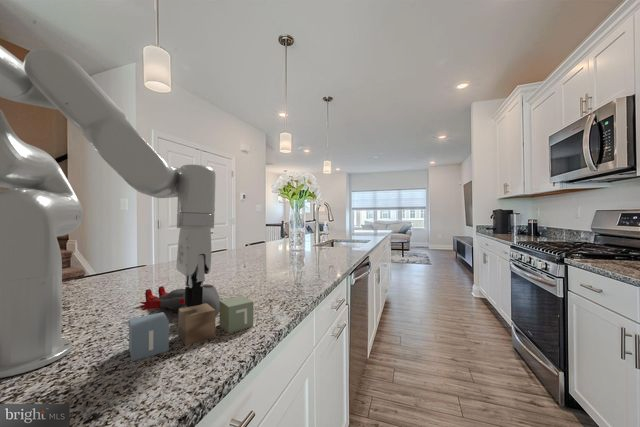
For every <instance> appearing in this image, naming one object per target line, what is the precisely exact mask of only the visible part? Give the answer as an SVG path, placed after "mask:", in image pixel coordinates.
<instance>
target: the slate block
mask: <svg viewBox="0 0 640 427" xmlns="http://www.w3.org/2000/svg"><path fill="white" fill-rule="evenodd" d="M169 346H170V320H169V318H168V317H167V316H166V313H165V312H157V313H152V314H148V315H141V316H137V317H133V318H129V319H128V351H129V354H130V355H129V356H130V360H131V361H137V360H140V359H144V358H147V357H151V356H154V355H157V354H162V353H165V352H168V351H170V347H169Z"/></svg>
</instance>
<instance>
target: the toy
mask: <svg viewBox="0 0 640 427" xmlns="http://www.w3.org/2000/svg"><path fill="white" fill-rule="evenodd" d="M157 292H158V296H156V295H153V292H152V290H151V289H150V288H149V289H145V293H144V294H145V298H144V299H145V301H140V302H139V303H140V304H141V305H140V306H139V307H140V308H142V309H141V311H146V310H157V309H162V308H165V307H166V308H167V309H169V310H171V311H172V310H179V309H181V308H186V307H187V306H186V305H185V288H178V289H177V288H176V289H174V290H171V291H169V292H166V290H165V287H164V286H159V287H158V289H157ZM220 300H221V298H220V295H219V292H218V291H217V289H216V286H214V285H212V284H208V283H206V284H204V283H203V296H202V304H205V303H207V304H208V305H210V306H211V307H212V308H213V309H215V318H216V317H217V316H218V315H219V301H220Z"/></svg>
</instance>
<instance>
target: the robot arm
mask: <svg viewBox="0 0 640 427" xmlns="http://www.w3.org/2000/svg"><path fill="white" fill-rule="evenodd" d="M0 98H3V99H5V100H8V101H13V102H16V103H19V104H20V103H21V104H26V105H31V106H37V107H41V108H42V107H43V108H48V109H52V110H56V111H57V110H58V111H59V112H60V113H61V114H62V115H63V116H64V117H65V118H66V119H67V120H68V121H69V122H70V123H71V124H72V125H73V126H74V127H75V128H76V130H78V131H79V132H80V133H81V134H82V136H84V138H85V139H86V141H87V142H88V144H90V145H91V146H92V147H93V149H94V150H95V151H96V152H97V154H98V155H99V156H100V157H101V158H102V159H103V160H104V161H105V162H106V163H107V165H109V166H110V167H111V168H112V169H113V171H114V172H116V173H117V175H119V176H120V177H121V178H122V179H123V180H124V181H125V182H126V183H127V184H128V185H129V186H130V187H131V188H132V189H133V190H135V191H137V192H138V193H141V194H143V195H146V196H150V197H153V198H157V199H170V198H177V209H176V210H177V211H176V212H177V214H176V229H179V235H178V240H177V242H178V243H177V252H176V253H177V256H176V270H177V271H178V272H179V273H181V274H182V275H184V276H185V279H184V281H185V287H184V289H185V305H186V306H187V307H191V306H197V305H201V304H202V296H203V284H204V282H205V280H206V279H205V278H206V276H205V275H208V274H209V273H210V272H211V270H212V232H211V229H214V228H215V210H216V209H215V206H216V205H215V204H216V180H217V179H216V172H215V170H214V168H212V167H211V166H208V165H207V166H206V165H203V164H202V165H201V164H184V165H182V166H180V167H176V166H171V165H170V164H169V163H167V161H166V160H165V159H163V158H162V157H161V156H160V155H159V154H158V153H157V151H155V149H154V148H153V147H152V146H151V145H150V144H149V142H147V141H146V140H145V138H143V137H142V135H140V133H139V132H138V131H137V130H136V129H135V128H134V127H133V125H132V124H131V122H130V121H129V117H128V116H127V114H126V113H125V112H124V111H123V110H122V109H121V108H120V107H119V106H118V105H117V104H116V103H115V101H113V99H111V97H110V96H109V95H108V94H107V93H106V92H105V91H104V90H103V89H102V88H101V86H100V85H98V83H97V82H96V81H95V79H93V78H92V77H91V76H90V75H89V73H88V72H87V71H85V69H84V68H82V66H81V65H80V64H79V63H78V62H77V61H76V60H74V59H73V58H72V57H70V56H69V55H67V54H66V53H63V52H61V51H59V50H56V49H54V48H53V49H52V48H46V47H45V48H44V47H41V48H40V47H38V48H35V49H33V50H30V51H29V52H28V53H27V54H26V55H25V56H24V59H23V61H22V60H20V59H19V58H18V57H17V56H15V55H14V54H13V53H11V52H10V51H9V50H7V48H5V47H4V46H2V45H1V44H0ZM0 188H5V189H2V190H0V379H3V378H8V377H9V378H10V377H13V376H17V375H22V374H24V373H27V372H31V371H34V370H36V369H39V368H42V367H45V366H47V365H50V364H52V363H55V362H56V361H59V360H60V359H62V358H63V357H65V356H66V355H68V354H69V353H70V352H71V350H72V349H73V342H72V341H71V340H70V339H68V338H62V335H63V334H62V328H63V326H62V317H63V311H62V310H63V307H62V306H63V302H62V301H63V261H62V260H63V258H62V253H61V252H62V251H61V247H60V243H59V241H58V237H64V236H66V235H70V234H71V233H74V232H75V231H76V230H77V229H78V228H79V227H80V226H81V225H82V223H83V221H84V212H85V211H84V208H83V205H82V203H81V201H80V199H79V197H78V196H77V194H76V192H75V191H74V188H73V187H72V185H71V183H70V181H69V180H68V178H67V176H66V174H65V173H64V171H63V169H62V167H61V166H60V165H59V163H58V162H57V161H56V159H55V158H54V157H53V156H51V155H50V154H49V153H48V152H46V150H43V149H41V148H39V147H37V146H34V145H32V144H28V143H26V142H25V141H23V140H22V139H21V138H19V136H17V134H16V132H15V131H14V130H13V128H12V127H11V125H10V123H9V121H8V120H7V118H6V116H5V113H4V112H3V110H2V109H1V108H0Z"/></svg>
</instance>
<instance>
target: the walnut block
mask: <svg viewBox="0 0 640 427" xmlns="http://www.w3.org/2000/svg"><path fill="white" fill-rule="evenodd" d="M178 337H179V338H180V340H181V341H182V343H183V344H184V346H189V345H192V344H196V343H199V342H203V341H206V340H209V339H213V338H216V317H215V309H213V308H212V307H211V306H210V305H208V304H207V303H205V304H201V305H197V306H191V307H182V308H179V309H178Z"/></svg>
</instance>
